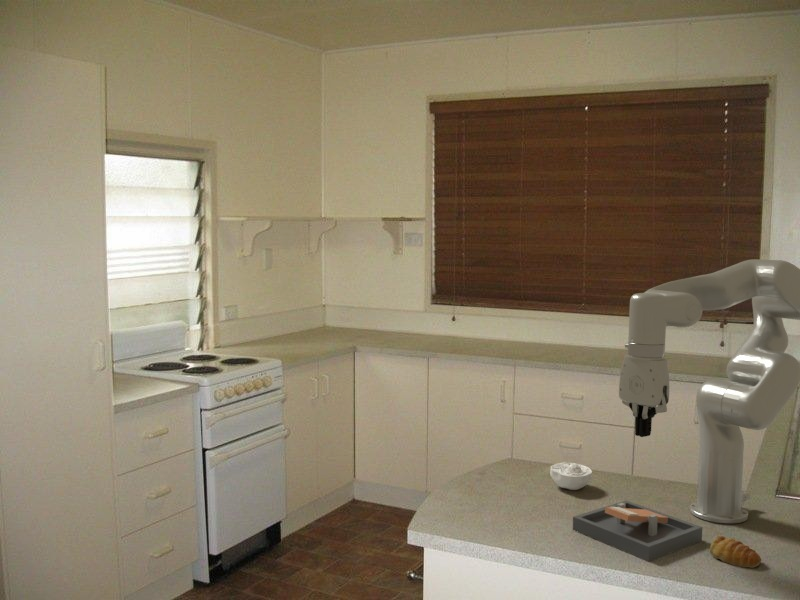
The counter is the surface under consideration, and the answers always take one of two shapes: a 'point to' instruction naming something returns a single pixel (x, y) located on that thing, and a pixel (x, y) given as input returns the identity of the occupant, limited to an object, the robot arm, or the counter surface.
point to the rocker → (634, 514)
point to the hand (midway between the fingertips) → (642, 435)
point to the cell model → (570, 475)
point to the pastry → (734, 552)
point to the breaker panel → (638, 532)
